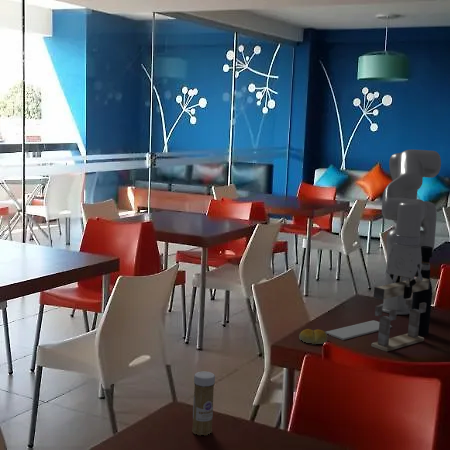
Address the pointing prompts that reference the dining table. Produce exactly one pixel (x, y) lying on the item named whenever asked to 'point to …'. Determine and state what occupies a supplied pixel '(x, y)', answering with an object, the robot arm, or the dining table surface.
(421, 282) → the rail
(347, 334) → the mat
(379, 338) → the rack
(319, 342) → the bread roll
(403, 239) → the robot arm
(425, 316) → the wine bottle
